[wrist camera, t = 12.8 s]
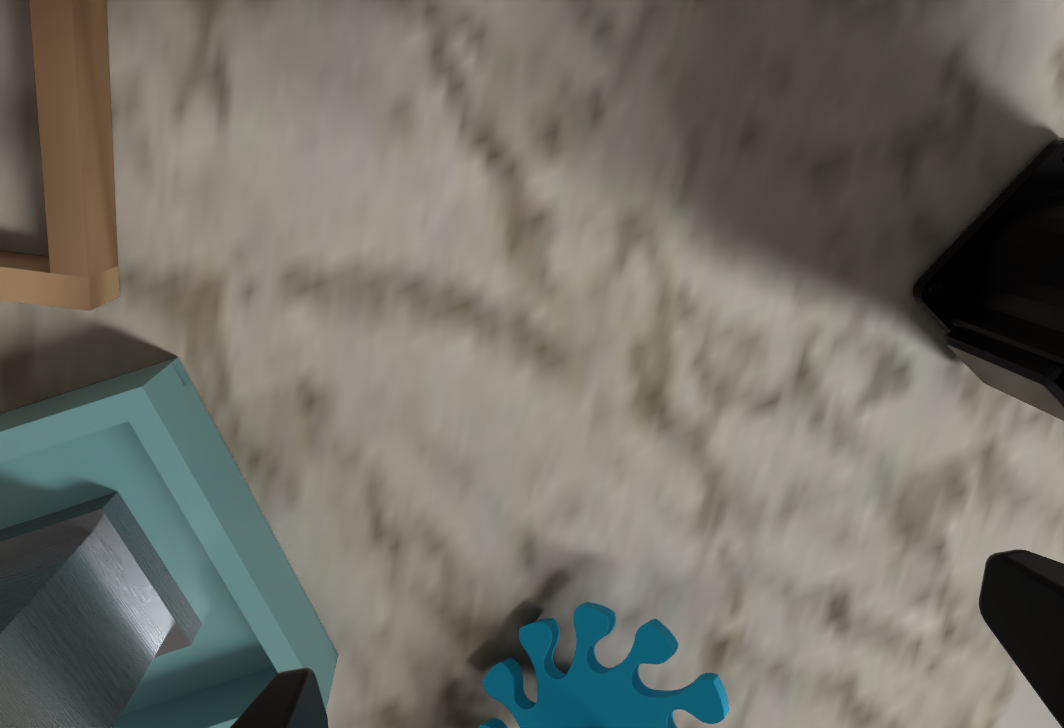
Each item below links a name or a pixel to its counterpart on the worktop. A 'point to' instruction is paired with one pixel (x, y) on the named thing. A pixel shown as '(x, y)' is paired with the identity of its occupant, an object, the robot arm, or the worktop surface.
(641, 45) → the worktop surface
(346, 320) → the worktop surface
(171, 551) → the parts tray
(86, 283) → the socket
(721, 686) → the gear
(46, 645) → the plate
